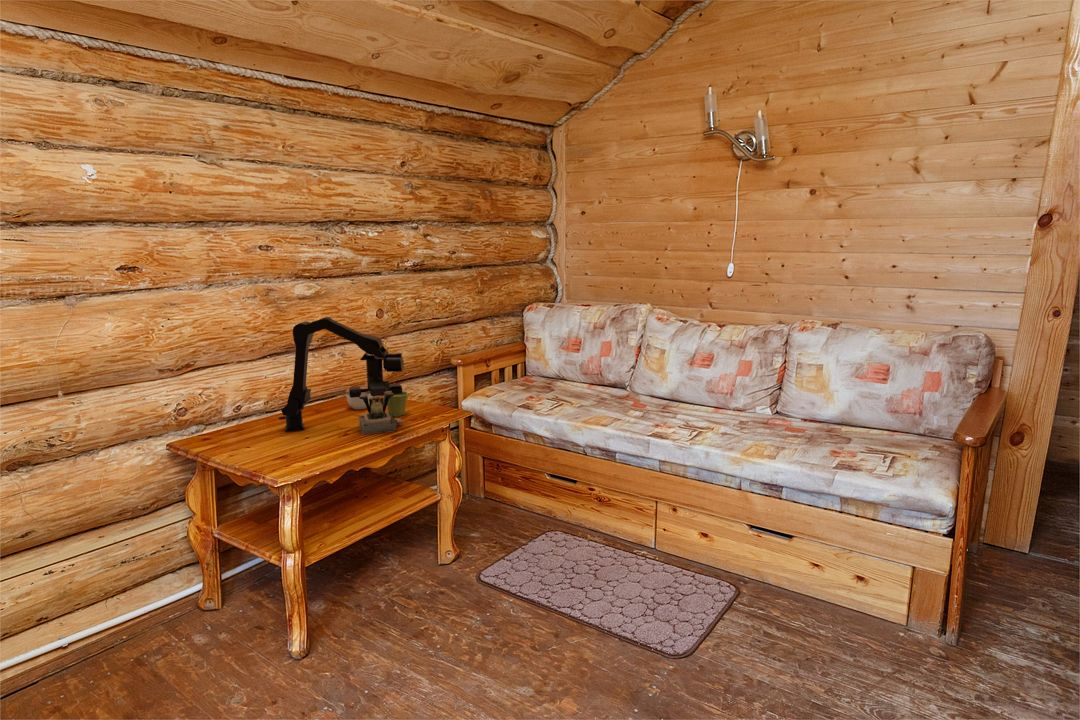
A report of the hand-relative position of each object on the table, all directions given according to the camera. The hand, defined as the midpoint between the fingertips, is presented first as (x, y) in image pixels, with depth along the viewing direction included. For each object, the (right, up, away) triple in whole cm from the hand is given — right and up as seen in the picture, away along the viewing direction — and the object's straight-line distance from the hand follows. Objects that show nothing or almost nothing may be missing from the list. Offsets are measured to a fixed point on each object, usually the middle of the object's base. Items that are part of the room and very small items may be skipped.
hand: (376, 413), depth 237 cm
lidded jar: (-14, 0, +29) cm, 32 cm away
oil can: (0, -1, 0) cm, 1 cm away
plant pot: (+4, -2, +18) cm, 18 cm away
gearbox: (+1, -5, +2) cm, 6 cm away
